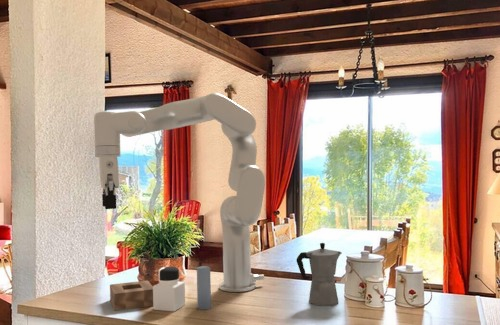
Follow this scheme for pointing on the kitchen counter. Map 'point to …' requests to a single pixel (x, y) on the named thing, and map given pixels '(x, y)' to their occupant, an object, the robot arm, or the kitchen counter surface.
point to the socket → (131, 295)
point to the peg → (203, 288)
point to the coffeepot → (321, 275)
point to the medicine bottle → (168, 290)
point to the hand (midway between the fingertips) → (109, 207)
